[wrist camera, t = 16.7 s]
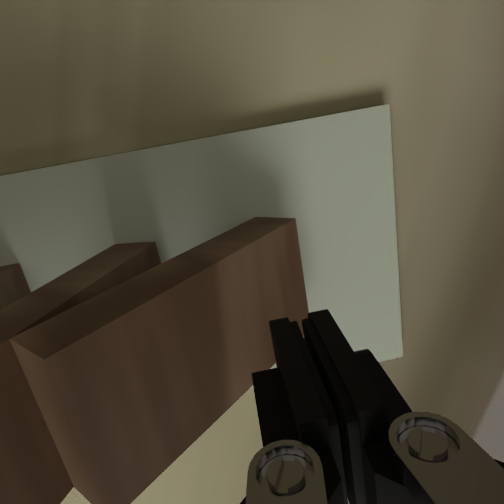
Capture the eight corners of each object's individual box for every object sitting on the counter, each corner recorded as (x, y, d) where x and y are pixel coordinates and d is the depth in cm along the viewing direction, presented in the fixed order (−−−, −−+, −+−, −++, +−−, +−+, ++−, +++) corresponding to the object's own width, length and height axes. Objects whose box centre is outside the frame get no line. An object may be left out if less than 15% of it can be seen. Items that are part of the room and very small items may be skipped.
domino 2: (273, 319, 18) (73, 486, 12) (256, 216, 17) (8, 338, 10) (310, 328, 17) (111, 522, 10) (295, 218, 16) (44, 359, 9)
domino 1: (145, 345, 18) (-82, 587, 10) (114, 244, 17) (-196, 423, 8) (183, 347, 18) (-25, 609, 9) (155, 241, 16) (-136, 434, 7)
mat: (-244, 485, 19) (-255, 494, 19) (-428, 255, 15) (-448, 259, 15) (398, 351, 20) (402, 356, 20) (384, 104, 16) (389, 104, 16)
